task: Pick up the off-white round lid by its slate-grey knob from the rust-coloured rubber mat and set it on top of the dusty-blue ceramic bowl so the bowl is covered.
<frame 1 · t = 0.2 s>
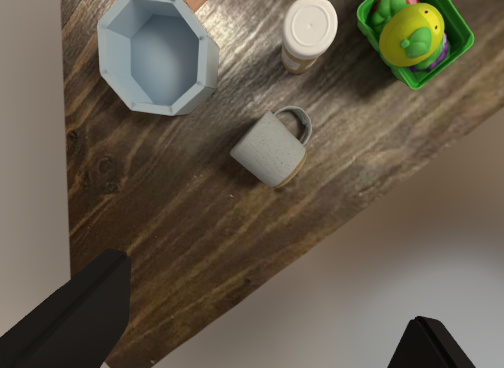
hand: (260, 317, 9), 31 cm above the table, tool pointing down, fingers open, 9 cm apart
spice bottle: (297, 55, 34), on the table
ceramic mug: (275, 138, 38), on the table
fruit basket: (390, 42, 33), on the table
bowl: (172, 63, 36), on the table
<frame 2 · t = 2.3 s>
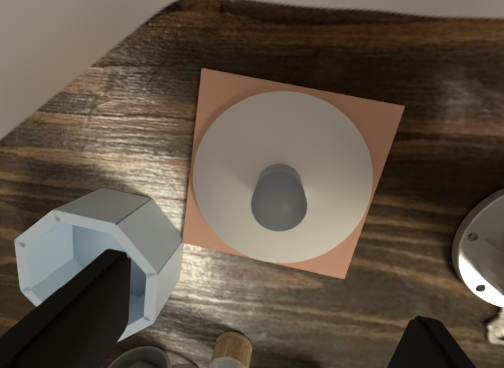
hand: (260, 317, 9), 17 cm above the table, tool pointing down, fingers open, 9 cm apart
spice bottle: (234, 342, 31), on the table
lid: (279, 183, 24), resting on mat
ceramic mug: (164, 366, 34), on the table
bowl: (125, 247, 28), on the table
mat: (279, 181, 24), on the table
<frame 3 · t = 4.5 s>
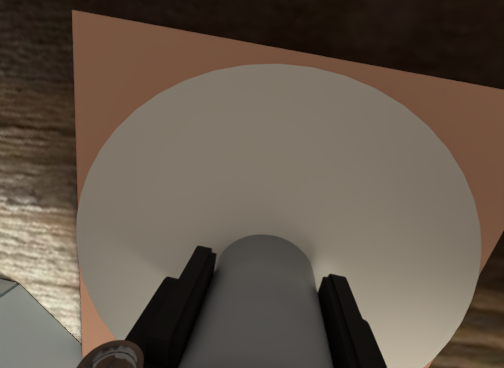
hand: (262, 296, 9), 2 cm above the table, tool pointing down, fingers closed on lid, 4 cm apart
lid: (264, 266, 11), resting on mat, touching gripper
mat: (265, 260, 12), on the table
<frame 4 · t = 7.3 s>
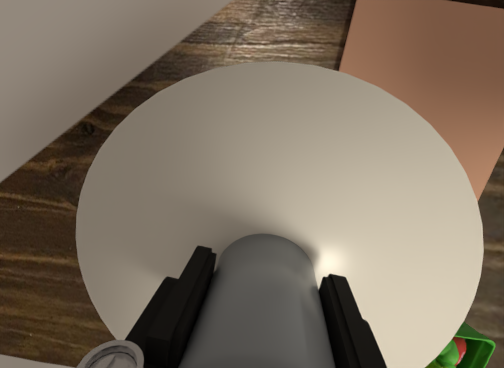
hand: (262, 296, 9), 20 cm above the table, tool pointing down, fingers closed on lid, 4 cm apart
lid: (265, 266, 11), point 18 cm above the table, touching gripper
fruit basket: (412, 333, 33), on the table
mat: (420, 105, 25), on the table
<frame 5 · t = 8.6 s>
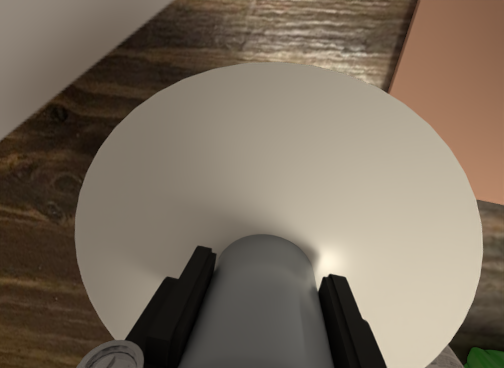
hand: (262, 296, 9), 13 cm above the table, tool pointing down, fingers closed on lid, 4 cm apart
spice bottle: (397, 312, 25), on the table
lid: (264, 266, 11), point 11 cm above the table, touching gripper
when the fingers open (9 cm above the table, at t = 9.9 s): lid drops 1 cm, resting on bowl.
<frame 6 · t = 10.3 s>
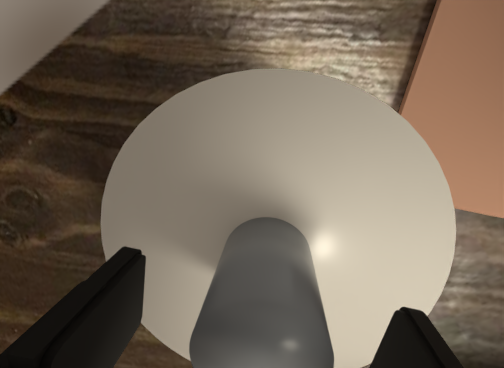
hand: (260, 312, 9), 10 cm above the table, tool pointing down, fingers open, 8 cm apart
lid: (267, 247, 13), point 6 cm above the table, touching bowl
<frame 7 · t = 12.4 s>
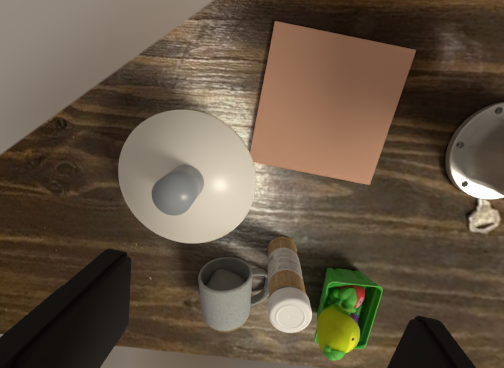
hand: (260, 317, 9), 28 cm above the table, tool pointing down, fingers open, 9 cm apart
spice bottle: (281, 247, 40), on the table
lid: (188, 179, 30), point 6 cm above the table, touching bowl
ceramic mug: (237, 275, 41), on the table
fruit basket: (333, 291, 42), on the table
mat: (325, 109, 33), on the table
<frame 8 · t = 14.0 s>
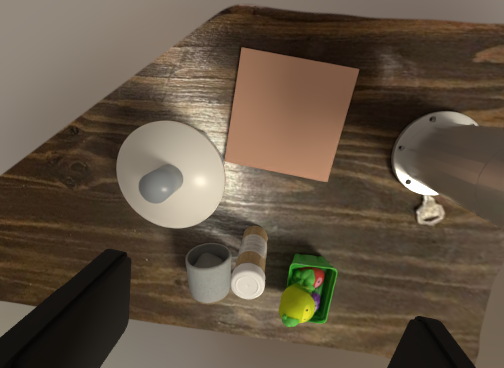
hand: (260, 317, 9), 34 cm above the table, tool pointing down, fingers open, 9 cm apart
spice bottle: (255, 235, 46), on the table
lid: (171, 176, 38), point 6 cm above the table, touching bowl
ceramic mug: (221, 259, 49), on the table
fruit basket: (302, 274, 48), on the table
mat: (286, 118, 40), on the table
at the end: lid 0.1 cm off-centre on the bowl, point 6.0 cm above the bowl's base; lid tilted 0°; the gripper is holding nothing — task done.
